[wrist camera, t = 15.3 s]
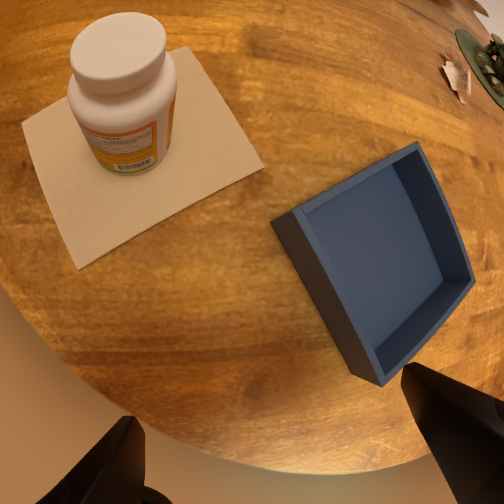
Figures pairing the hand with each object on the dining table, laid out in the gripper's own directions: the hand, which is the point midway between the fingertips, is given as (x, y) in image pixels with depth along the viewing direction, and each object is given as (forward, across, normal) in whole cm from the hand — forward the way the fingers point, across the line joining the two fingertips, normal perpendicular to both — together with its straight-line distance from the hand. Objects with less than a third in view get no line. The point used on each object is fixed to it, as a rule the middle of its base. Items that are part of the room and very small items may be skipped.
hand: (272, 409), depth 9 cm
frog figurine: (+34, -49, -20) cm, 63 cm away
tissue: (+27, -32, -16) cm, 44 cm away
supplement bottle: (+14, +6, -10) cm, 18 cm away
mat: (+14, +6, -10) cm, 18 cm away
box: (+14, -10, +2) cm, 18 cm away
